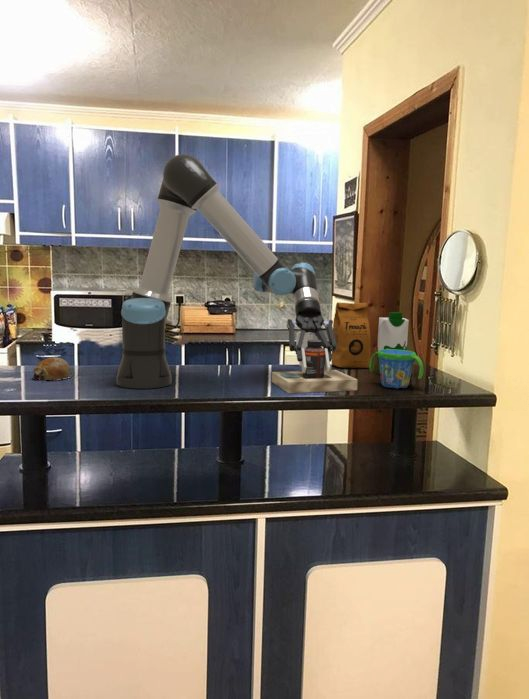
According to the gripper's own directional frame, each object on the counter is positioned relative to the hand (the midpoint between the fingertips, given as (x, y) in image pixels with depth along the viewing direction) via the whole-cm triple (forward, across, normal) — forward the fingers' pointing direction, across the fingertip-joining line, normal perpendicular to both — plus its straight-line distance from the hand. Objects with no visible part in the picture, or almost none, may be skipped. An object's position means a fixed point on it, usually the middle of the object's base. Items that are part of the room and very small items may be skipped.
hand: (316, 370), depth 158 cm
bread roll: (-7, +74, -15) cm, 76 cm away
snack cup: (+2, -24, -6) cm, 24 cm away
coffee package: (-20, -19, -28) cm, 40 cm away
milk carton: (-11, -28, -19) cm, 36 cm away
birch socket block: (+1, 0, -6) cm, 6 cm away
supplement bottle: (0, 0, -5) cm, 5 cm away
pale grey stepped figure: (-22, -3, -30) cm, 37 cm away
